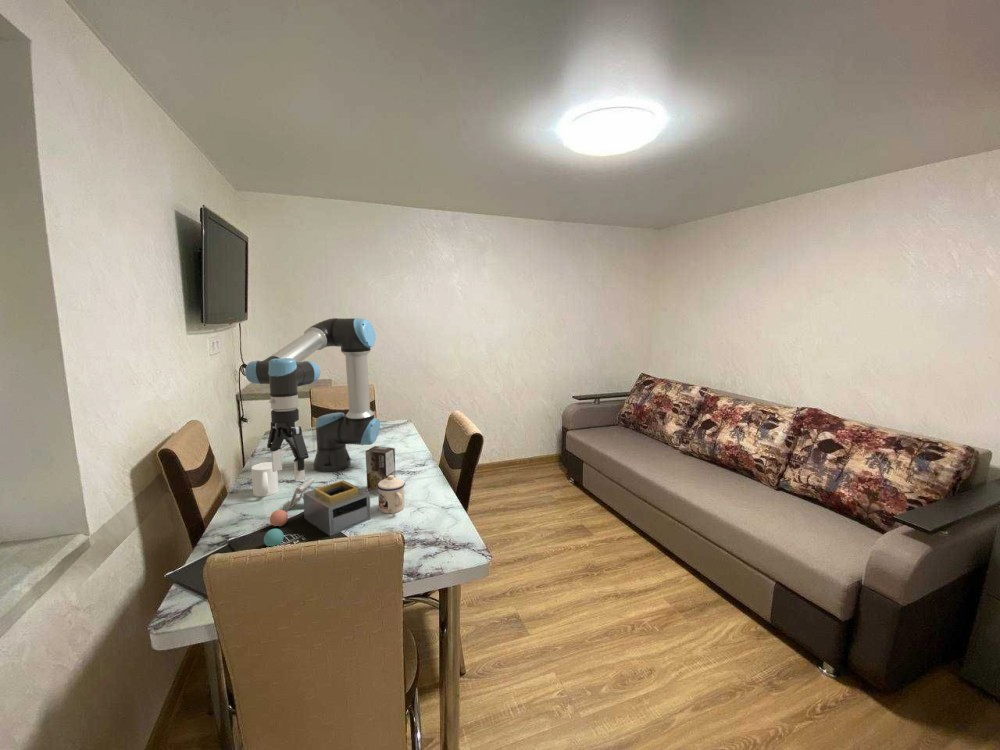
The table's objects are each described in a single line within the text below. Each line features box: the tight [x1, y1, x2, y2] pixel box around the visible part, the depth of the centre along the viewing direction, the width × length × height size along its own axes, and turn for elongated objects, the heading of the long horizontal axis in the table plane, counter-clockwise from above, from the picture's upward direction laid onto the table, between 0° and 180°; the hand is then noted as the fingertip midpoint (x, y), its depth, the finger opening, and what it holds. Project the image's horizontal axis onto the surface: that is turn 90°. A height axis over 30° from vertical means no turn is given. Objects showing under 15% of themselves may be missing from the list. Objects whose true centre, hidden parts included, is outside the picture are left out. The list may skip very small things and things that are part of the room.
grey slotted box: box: [302, 480, 372, 537], centre depth 133 cm, size 16×14×10 cm
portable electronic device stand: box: [282, 477, 315, 512], centre depth 143 cm, size 9×8×8 cm
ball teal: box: [263, 528, 285, 548], centre depth 118 cm, size 5×5×5 cm
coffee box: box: [365, 445, 397, 494], centre depth 156 cm, size 9×6×16 cm
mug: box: [250, 461, 279, 497], centre depth 152 cm, size 8×10×12 cm
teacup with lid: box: [377, 475, 406, 514], centre depth 141 cm, size 12×9×12 cm
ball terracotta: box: [269, 509, 289, 527], centre depth 129 cm, size 5×5×5 cm
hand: (288, 475), depth 129 cm, fingers open, 13 cm apart
